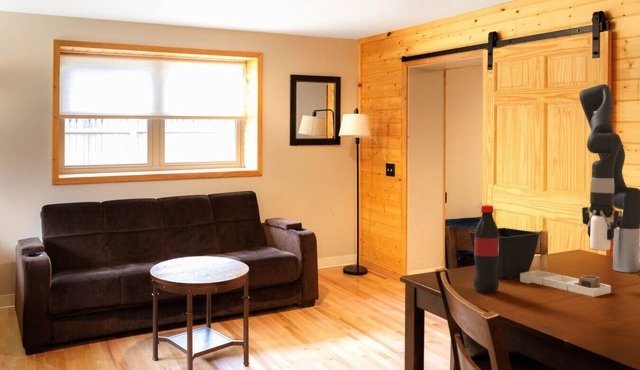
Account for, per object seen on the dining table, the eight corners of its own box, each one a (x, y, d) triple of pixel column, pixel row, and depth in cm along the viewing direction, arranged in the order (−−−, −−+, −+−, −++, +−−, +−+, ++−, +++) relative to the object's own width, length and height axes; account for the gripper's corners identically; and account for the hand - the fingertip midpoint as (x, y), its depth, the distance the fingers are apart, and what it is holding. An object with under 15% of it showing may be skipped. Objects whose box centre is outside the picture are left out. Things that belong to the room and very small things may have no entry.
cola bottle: (499, 289, 216) (500, 204, 213) (498, 295, 208) (499, 206, 205) (474, 287, 218) (475, 203, 216) (472, 293, 210) (473, 206, 208)
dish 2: (560, 283, 224) (560, 274, 223) (583, 288, 215) (584, 279, 215) (543, 287, 218) (543, 278, 218) (566, 292, 210) (566, 283, 210)
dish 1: (537, 278, 232) (537, 269, 232) (559, 283, 224) (559, 274, 224) (520, 281, 227) (520, 273, 226) (542, 286, 219) (542, 277, 218)
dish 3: (584, 289, 215) (585, 280, 215) (610, 294, 207) (610, 285, 207) (567, 292, 210) (568, 283, 210) (593, 299, 202) (593, 289, 202)
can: (612, 251, 211) (613, 216, 210) (592, 250, 212) (593, 215, 212) (607, 247, 217) (609, 214, 216) (588, 247, 219) (589, 213, 218)
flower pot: (467, 272, 242) (468, 230, 240) (502, 267, 251) (503, 226, 250) (503, 282, 225) (504, 237, 224) (539, 276, 235) (540, 233, 233)
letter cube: (585, 289, 212) (585, 274, 212) (599, 291, 208) (600, 276, 208) (578, 291, 209) (578, 276, 208) (593, 294, 205) (593, 279, 204)
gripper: (577, 189, 217) (575, 236, 219) (614, 192, 205) (613, 242, 207) (590, 188, 221) (589, 234, 223) (628, 191, 209) (626, 240, 210)
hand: (600, 238), depth 215 cm, fingers closed on can, 6 cm apart
